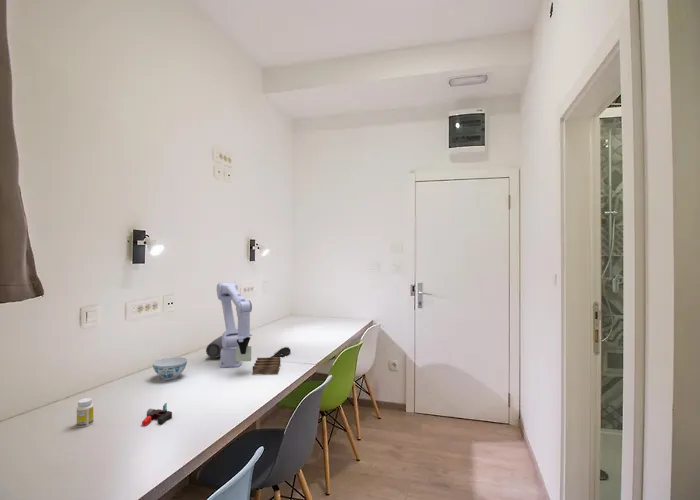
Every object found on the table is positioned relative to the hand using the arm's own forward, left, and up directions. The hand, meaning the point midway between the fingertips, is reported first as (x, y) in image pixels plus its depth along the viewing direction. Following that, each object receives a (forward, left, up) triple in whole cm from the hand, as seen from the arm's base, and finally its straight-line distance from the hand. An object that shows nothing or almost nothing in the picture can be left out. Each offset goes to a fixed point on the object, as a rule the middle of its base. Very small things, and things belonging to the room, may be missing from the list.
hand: (243, 353), depth 190 cm
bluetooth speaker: (-19, +34, -10) cm, 40 cm away
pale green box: (0, 0, -4) cm, 4 cm away
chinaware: (-33, -5, -10) cm, 35 cm away
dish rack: (+11, +4, -10) cm, 15 cm away
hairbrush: (+14, +26, -10) cm, 31 cm away
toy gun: (-22, -51, -10) cm, 57 cm away
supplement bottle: (-44, -53, -10) cm, 70 cm away
